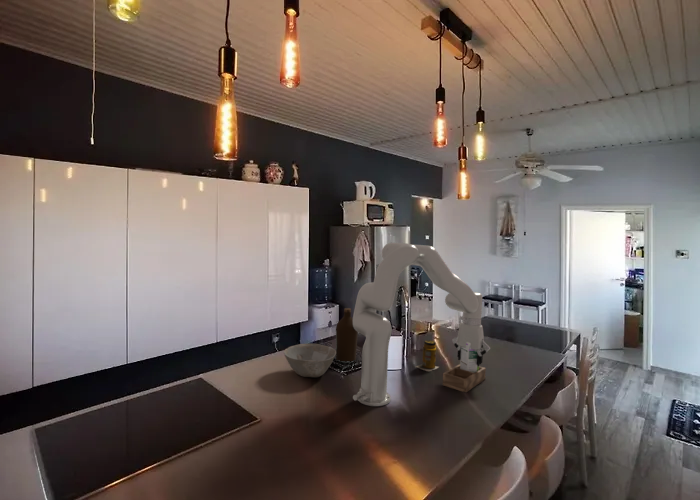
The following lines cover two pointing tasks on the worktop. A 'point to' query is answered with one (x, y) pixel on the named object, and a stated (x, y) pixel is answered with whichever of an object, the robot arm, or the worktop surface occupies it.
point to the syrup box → (469, 359)
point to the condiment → (429, 356)
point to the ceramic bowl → (310, 359)
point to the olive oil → (346, 338)
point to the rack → (463, 378)
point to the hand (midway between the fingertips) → (469, 361)
